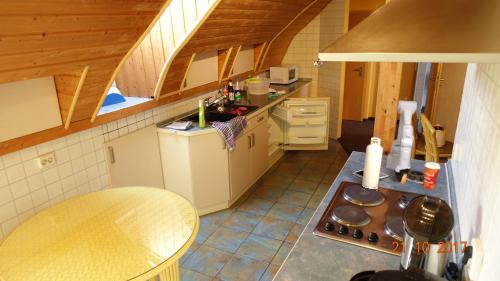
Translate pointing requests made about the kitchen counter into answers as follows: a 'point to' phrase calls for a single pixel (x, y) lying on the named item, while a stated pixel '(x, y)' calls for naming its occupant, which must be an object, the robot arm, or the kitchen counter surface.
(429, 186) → the paper cup
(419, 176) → the dark brown round dish
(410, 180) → the mat
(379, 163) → the bottle
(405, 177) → the tan rounded lump
